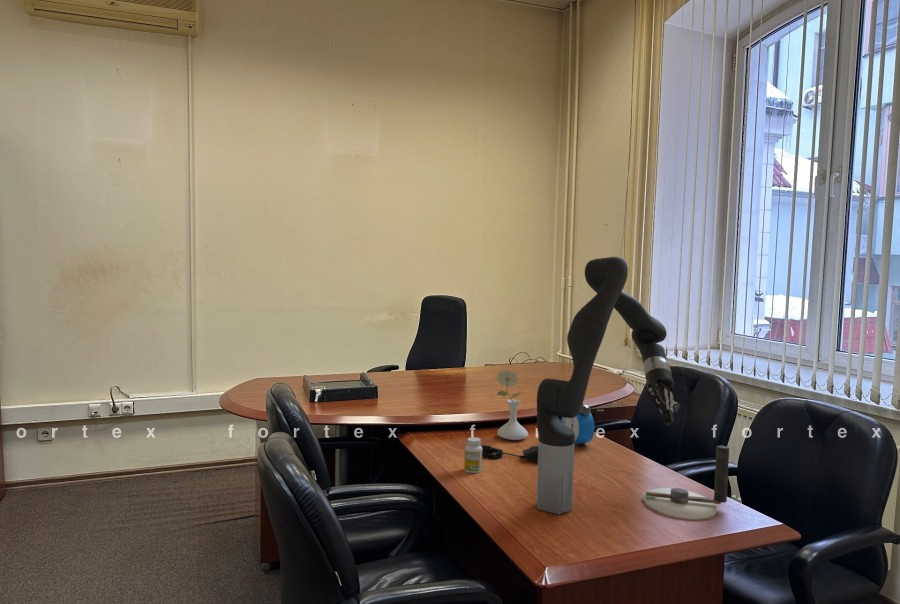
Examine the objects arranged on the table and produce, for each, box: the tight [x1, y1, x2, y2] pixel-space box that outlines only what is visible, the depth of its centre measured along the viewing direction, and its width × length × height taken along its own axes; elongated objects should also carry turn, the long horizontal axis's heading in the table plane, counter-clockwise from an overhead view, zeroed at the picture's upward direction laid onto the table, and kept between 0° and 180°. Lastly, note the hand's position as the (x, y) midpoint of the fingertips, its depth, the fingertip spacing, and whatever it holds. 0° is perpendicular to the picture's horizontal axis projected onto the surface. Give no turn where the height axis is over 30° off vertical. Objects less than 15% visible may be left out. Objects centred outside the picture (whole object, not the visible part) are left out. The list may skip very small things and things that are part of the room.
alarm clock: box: [560, 403, 595, 447], centre depth 200 cm, size 13×6×15 cm, turn 20°
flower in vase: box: [496, 369, 529, 441], centre depth 205 cm, size 13×11×25 cm
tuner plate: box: [642, 487, 718, 521], centre depth 148 cm, size 18×18×1 cm
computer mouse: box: [480, 444, 538, 464], centre depth 184 cm, size 10×32×6 cm, turn 80°
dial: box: [645, 445, 730, 505], centre depth 148 cm, size 20×4×15 cm, turn 76°
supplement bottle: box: [463, 436, 483, 474], centre depth 171 cm, size 5×5×10 cm
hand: (669, 423), depth 156 cm, fingers closed
